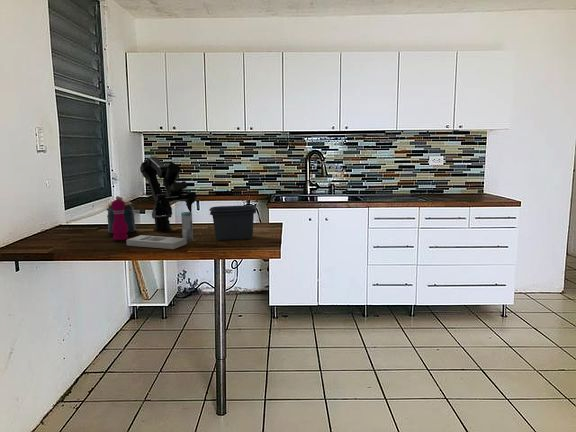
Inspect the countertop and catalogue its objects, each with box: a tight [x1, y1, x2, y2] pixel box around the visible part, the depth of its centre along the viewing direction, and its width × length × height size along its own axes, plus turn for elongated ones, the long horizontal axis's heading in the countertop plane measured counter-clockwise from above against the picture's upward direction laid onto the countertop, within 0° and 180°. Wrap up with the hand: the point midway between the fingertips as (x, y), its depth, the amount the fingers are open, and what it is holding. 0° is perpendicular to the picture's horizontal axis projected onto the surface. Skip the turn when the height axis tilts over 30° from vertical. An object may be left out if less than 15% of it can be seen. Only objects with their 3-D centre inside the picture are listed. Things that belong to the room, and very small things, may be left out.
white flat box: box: [125, 234, 188, 250], centre depth 201 cm, size 24×10×3 cm, turn 70°
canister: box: [106, 196, 136, 235], centre depth 230 cm, size 13×13×18 cm
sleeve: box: [180, 211, 194, 243], centre depth 206 cm, size 5×5×13 cm
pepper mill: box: [111, 195, 129, 241], centre depth 213 cm, size 7×7×20 cm
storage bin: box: [208, 204, 257, 241], centre depth 213 cm, size 21×16×14 cm
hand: (181, 212), depth 210 cm, fingers open, 9 cm apart
